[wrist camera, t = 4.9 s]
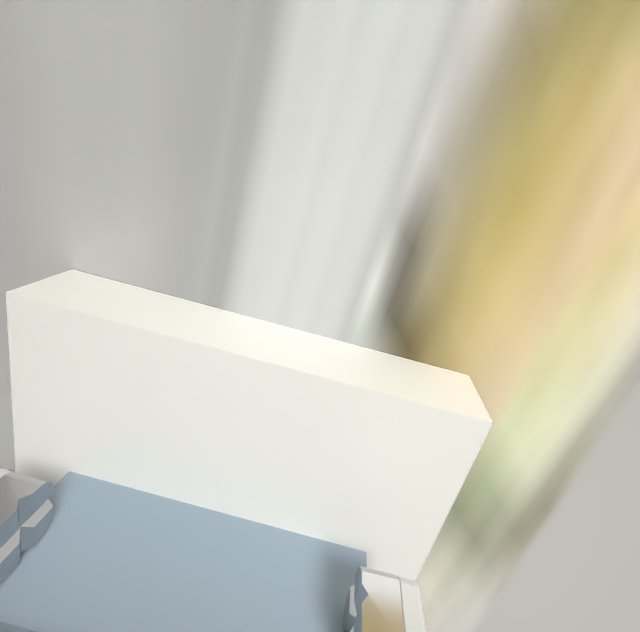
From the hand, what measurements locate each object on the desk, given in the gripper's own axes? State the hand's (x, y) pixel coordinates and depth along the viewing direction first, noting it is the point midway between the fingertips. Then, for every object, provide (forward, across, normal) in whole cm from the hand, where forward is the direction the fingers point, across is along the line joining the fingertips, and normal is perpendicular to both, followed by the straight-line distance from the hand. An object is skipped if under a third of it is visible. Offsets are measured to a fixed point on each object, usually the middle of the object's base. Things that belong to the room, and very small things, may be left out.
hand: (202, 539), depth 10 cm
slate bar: (+2, 0, +3) cm, 3 cm away
